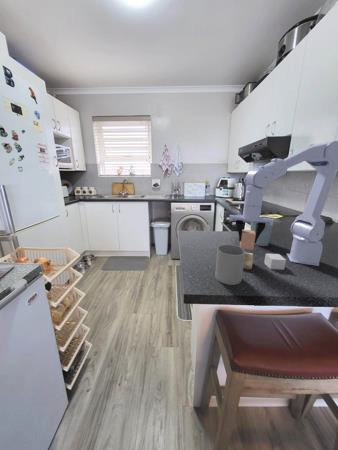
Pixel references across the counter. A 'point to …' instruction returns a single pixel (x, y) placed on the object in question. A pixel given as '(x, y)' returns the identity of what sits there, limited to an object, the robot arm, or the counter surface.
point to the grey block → (275, 261)
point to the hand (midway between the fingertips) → (247, 241)
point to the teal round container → (263, 234)
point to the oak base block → (248, 261)
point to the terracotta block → (247, 239)
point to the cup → (229, 264)
